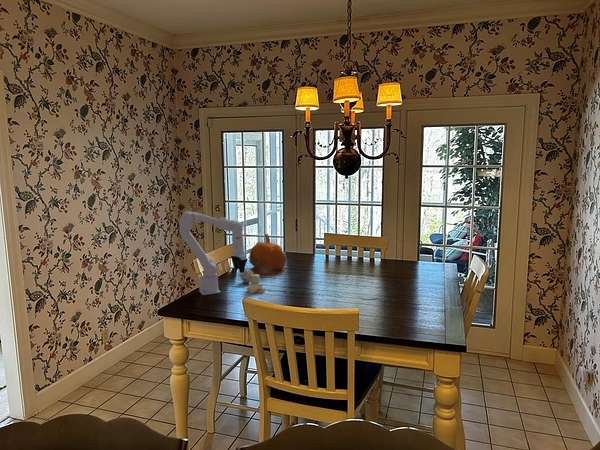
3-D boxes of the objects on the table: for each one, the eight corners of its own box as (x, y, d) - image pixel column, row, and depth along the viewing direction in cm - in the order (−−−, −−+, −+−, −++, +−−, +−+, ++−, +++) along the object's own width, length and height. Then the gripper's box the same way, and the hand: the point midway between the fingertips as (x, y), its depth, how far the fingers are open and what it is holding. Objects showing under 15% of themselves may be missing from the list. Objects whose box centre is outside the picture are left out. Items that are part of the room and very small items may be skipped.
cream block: (252, 289, 226) (251, 285, 226) (249, 287, 231) (248, 282, 231) (262, 288, 229) (262, 283, 228) (259, 285, 234) (259, 281, 233)
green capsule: (253, 284, 227) (253, 277, 226) (249, 282, 231) (249, 275, 230) (261, 283, 229) (260, 275, 228) (257, 281, 233) (257, 273, 232)
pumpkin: (267, 263, 288) (266, 229, 285) (295, 270, 271) (294, 233, 268) (240, 270, 272) (239, 234, 269) (268, 278, 255) (267, 239, 252)
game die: (251, 288, 247) (261, 274, 248) (245, 287, 239) (256, 272, 240) (239, 279, 250) (249, 265, 251) (233, 278, 242) (243, 263, 243)
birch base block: (252, 295, 226) (251, 290, 225) (247, 291, 232) (247, 287, 232) (264, 293, 229) (264, 288, 229) (259, 289, 235) (259, 285, 235)
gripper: (250, 246, 225) (251, 272, 227) (241, 242, 238) (242, 266, 240) (236, 248, 222) (238, 274, 224) (228, 243, 235) (229, 268, 237)
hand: (239, 270), depth 232 cm, fingers open, 7 cm apart
